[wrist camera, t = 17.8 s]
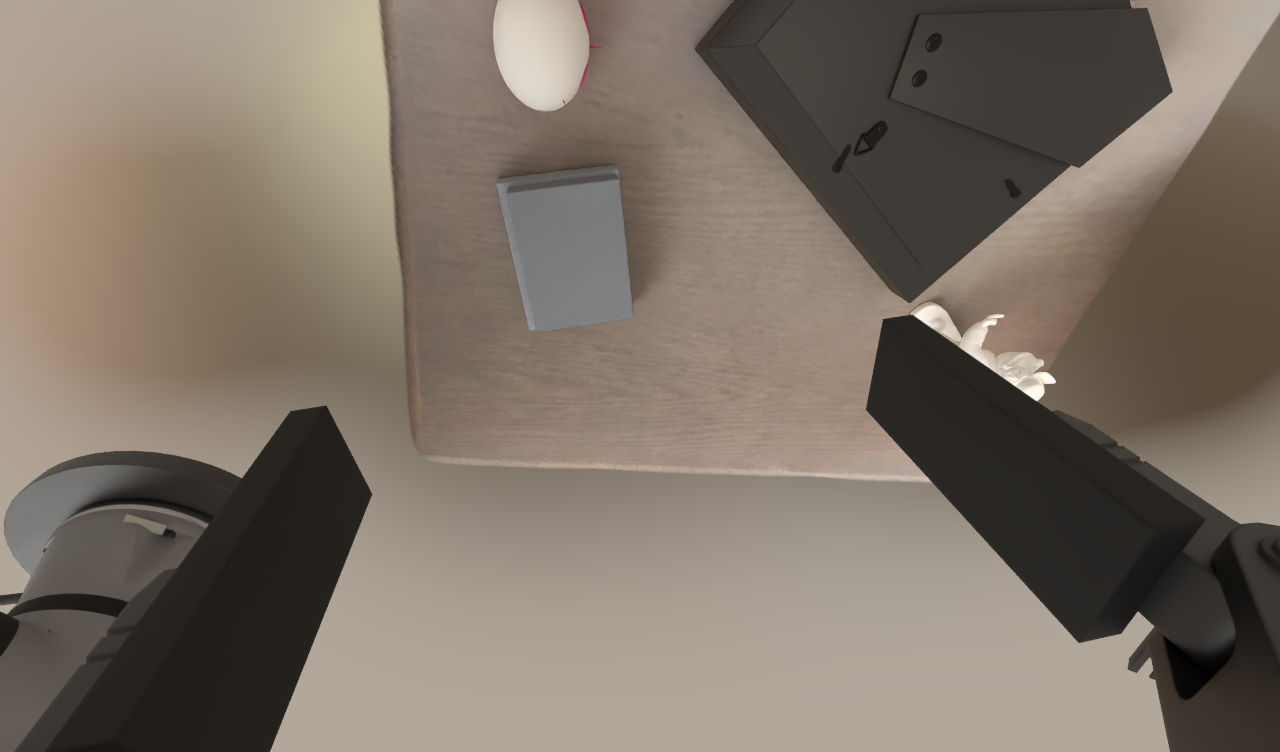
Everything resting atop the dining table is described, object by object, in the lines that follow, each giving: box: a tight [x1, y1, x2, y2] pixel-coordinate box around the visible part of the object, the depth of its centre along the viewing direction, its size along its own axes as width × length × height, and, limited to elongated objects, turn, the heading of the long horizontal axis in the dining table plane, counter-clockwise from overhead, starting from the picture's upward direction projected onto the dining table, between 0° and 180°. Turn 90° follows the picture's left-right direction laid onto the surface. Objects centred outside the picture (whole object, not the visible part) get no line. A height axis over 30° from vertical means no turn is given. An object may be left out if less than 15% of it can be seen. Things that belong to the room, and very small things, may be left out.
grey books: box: [496, 164, 634, 332], centre depth 40 cm, size 9×12×4 cm
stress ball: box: [493, 0, 602, 111], centre depth 33 cm, size 8×8×7 cm
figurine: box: [910, 302, 1056, 401], centre depth 48 cm, size 9×7×12 cm
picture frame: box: [695, 0, 1173, 303], centre depth 37 cm, size 23×4×28 cm
